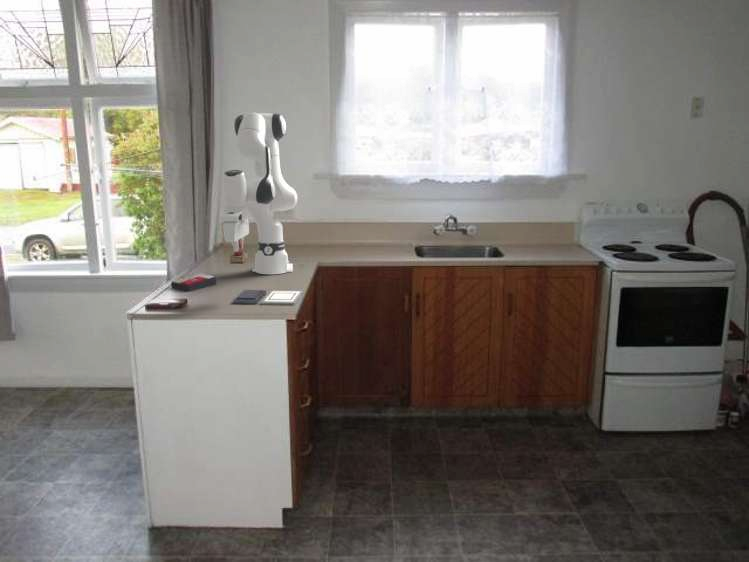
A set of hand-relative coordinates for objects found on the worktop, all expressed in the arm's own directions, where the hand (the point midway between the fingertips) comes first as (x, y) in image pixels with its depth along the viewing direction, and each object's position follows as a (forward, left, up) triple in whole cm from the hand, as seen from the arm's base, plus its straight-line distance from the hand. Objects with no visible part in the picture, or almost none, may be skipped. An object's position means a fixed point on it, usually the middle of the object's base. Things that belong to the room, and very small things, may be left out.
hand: (238, 250), depth 235 cm
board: (-1, +16, -19) cm, 25 cm away
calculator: (-19, -26, -20) cm, 38 cm away
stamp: (0, 0, -5) cm, 5 cm away
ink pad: (0, +4, -19) cm, 19 cm away
